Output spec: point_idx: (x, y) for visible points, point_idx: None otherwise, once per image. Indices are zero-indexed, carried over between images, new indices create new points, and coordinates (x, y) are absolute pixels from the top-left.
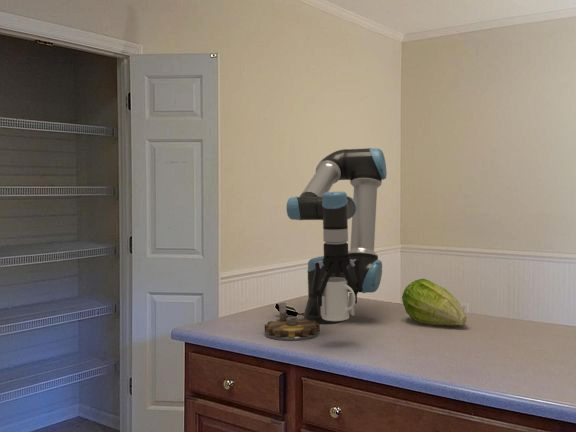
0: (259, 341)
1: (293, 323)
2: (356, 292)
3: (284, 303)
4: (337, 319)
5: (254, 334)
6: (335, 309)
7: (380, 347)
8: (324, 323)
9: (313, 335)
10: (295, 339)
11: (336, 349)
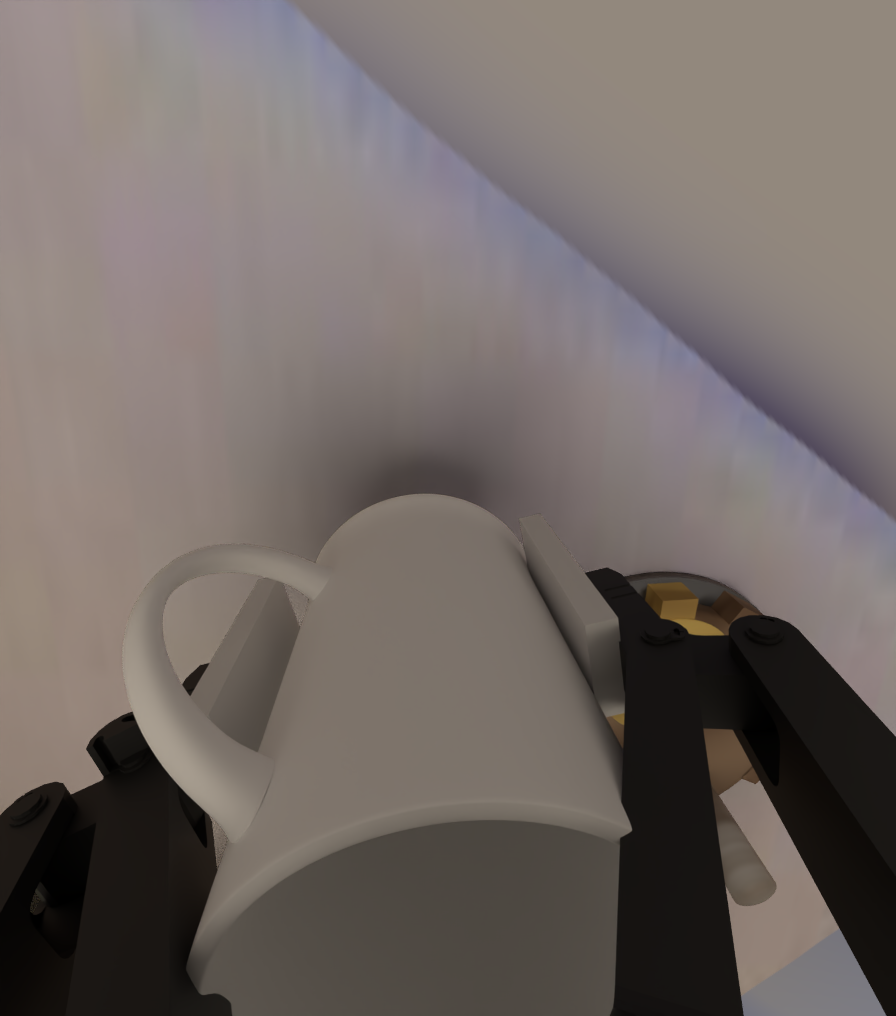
0: (819, 559)
1: None
2: (113, 733)
3: (742, 895)
4: (409, 498)
5: None
6: (428, 539)
7: (146, 447)
8: None
9: None
10: (638, 577)
11: (417, 407)
